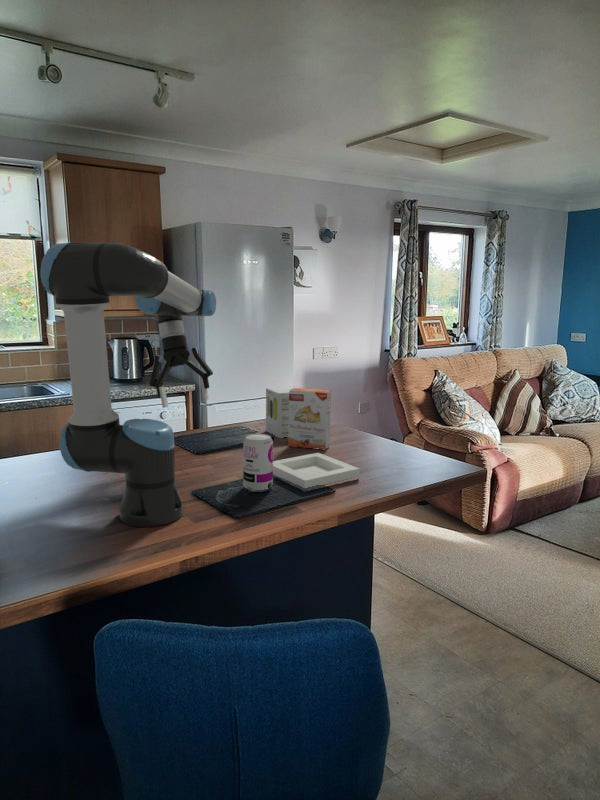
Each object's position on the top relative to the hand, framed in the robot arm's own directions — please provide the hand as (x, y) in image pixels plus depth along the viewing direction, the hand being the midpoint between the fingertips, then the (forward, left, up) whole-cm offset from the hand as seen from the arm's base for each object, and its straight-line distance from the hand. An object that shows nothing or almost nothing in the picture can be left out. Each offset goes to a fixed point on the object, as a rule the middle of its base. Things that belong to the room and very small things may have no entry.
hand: (185, 403), depth 177 cm
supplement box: (+50, +17, -20) cm, 56 cm away
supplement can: (+7, -31, -20) cm, 38 cm away
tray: (+26, -31, -20) cm, 45 cm away
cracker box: (+45, -4, -20) cm, 50 cm away
